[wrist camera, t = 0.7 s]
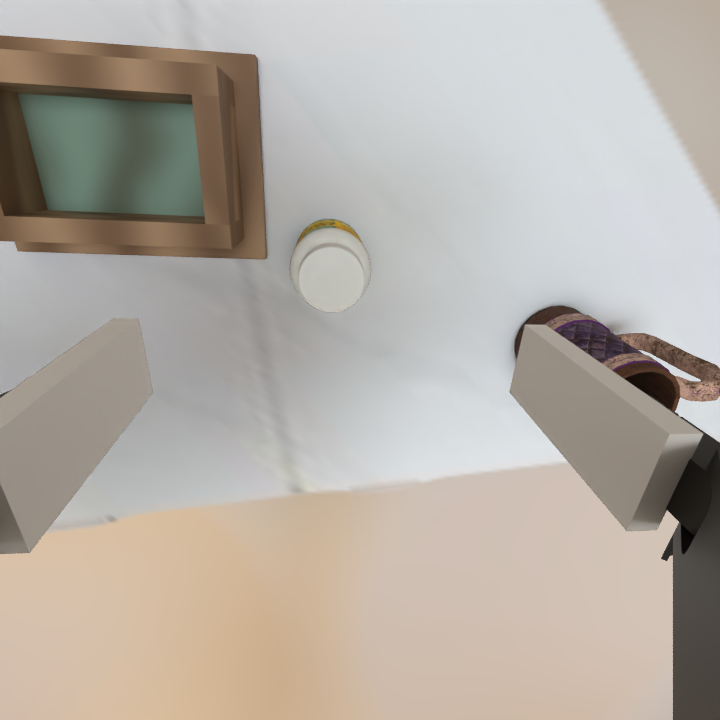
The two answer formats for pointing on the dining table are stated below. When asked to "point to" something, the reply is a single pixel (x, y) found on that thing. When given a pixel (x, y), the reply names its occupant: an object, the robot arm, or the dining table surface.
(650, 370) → the mug
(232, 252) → the walnut caddy
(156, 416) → the dining table surface
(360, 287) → the supplement bottle
